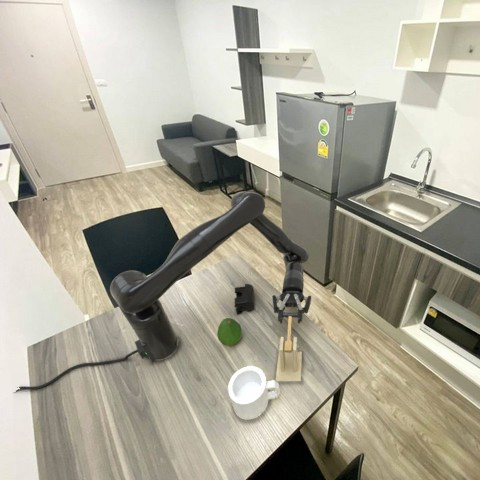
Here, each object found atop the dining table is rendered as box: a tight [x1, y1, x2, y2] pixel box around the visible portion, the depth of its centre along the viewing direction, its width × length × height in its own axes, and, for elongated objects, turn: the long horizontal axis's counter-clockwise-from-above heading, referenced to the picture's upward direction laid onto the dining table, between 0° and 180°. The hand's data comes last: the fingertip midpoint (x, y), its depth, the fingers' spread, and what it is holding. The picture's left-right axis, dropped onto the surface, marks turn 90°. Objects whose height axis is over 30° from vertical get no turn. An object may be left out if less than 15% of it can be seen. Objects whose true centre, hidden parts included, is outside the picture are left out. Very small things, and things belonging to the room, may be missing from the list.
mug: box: [227, 365, 281, 421], centre depth 76 cm, size 14×10×11 cm
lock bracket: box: [274, 336, 303, 382], centre depth 83 cm, size 10×8×14 cm
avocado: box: [216, 317, 243, 347], centre depth 91 cm, size 8×8×12 cm
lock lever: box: [283, 311, 298, 353], centre depth 83 cm, size 12×5×2 cm, turn 2°
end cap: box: [234, 283, 255, 315], centre depth 106 cm, size 10×7×7 cm
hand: (289, 321), depth 84 cm, fingers closed on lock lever, 5 cm apart
